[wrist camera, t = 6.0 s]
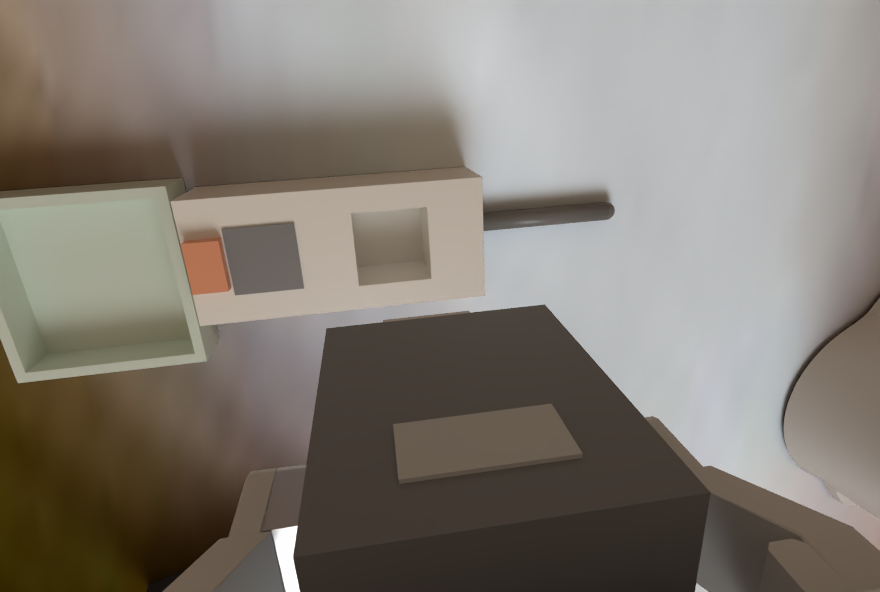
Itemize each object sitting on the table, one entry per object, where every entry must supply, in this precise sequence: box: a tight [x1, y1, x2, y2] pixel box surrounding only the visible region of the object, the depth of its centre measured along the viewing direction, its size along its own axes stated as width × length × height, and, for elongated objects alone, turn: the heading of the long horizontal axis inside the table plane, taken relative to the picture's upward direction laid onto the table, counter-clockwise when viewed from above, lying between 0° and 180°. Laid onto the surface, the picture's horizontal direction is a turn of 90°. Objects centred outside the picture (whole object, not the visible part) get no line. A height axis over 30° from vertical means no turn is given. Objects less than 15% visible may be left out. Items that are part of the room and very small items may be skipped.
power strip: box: [170, 167, 615, 326], centre depth 27 cm, size 22×6×5 cm, turn 93°
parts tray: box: [0, 178, 219, 383], centre depth 26 cm, size 9×9×3 cm
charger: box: [293, 305, 711, 592], centre depth 11 cm, size 5×5×9 cm
